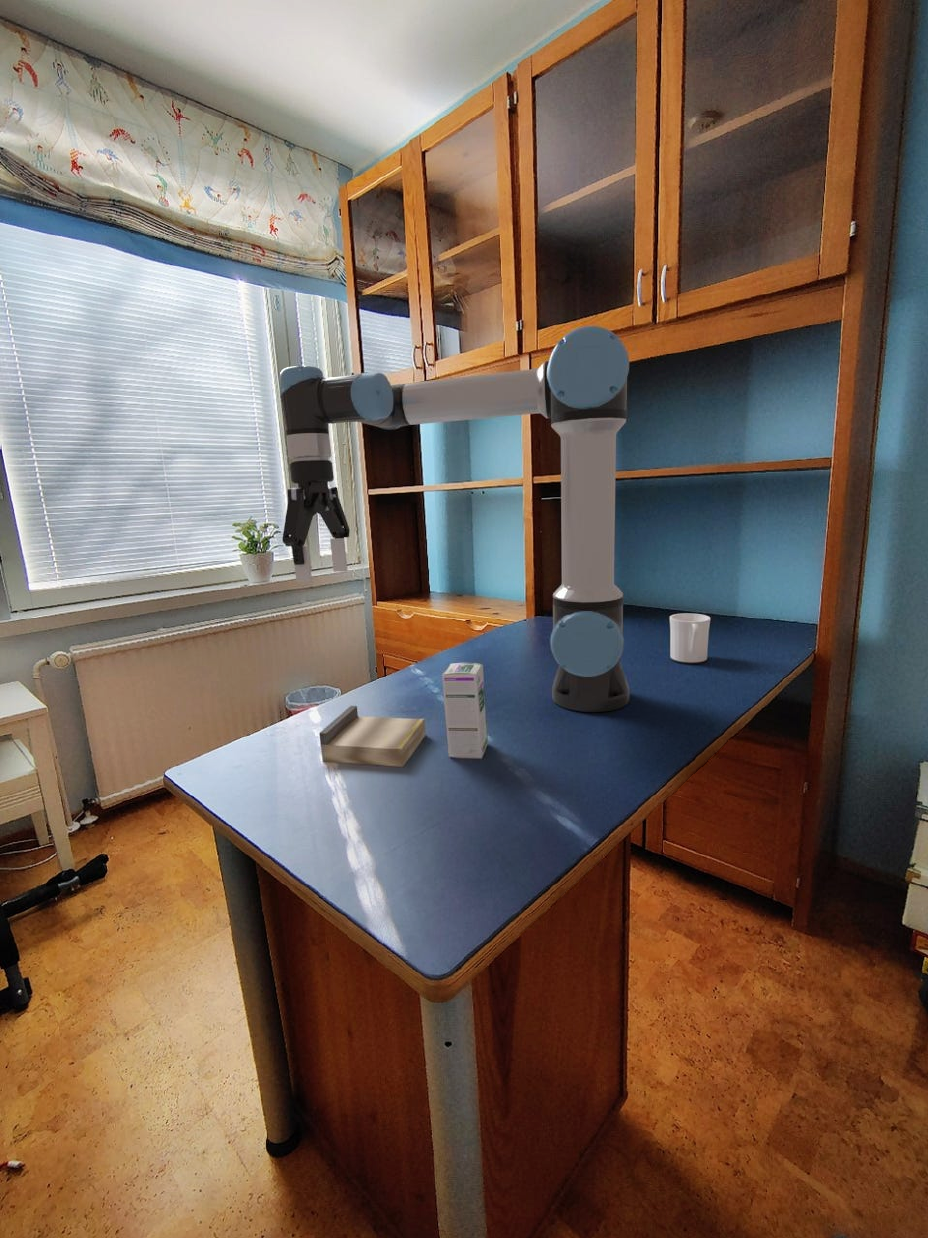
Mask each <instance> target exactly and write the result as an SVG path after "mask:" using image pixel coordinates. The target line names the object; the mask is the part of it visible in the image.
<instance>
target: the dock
mask: <svg viewBox="0 0 928 1238" xmlns="http://www.w3.org/2000/svg"><path fill="white" fill-rule="evenodd" d="M425 721H426V720H425V718H404V717H403V718H401V717H400V718H399V717H384V716H383V717H380V716H379V717H378V716H362V715H361V716H360V715H359V713H358V706H357V705H350V706H349V707H347V708H346V709H345V710H344V711H343V712H342V713H341V714H339V716H337V717H336V718H335V719H334V720H333V721H331V722H330V723H329V724H328V725H327V726H325V727H324V728H323V729H322V730H321V731H319V741H320V750H321V751H320V752H321V759H322V760H321V761H322V762H329V763H340V764H341V763H342V764H355V765H370V766H371V765H372V766H383V767H384V766H387V767H399V768H400V767H401V768H403V767H404V766H405V764H406V763H407V761H408V760H409V759H410V757H411V756H412V755H413V753H414V752H415V750H417V748H418V747H419V745H420V744H421V743H422V741H423V739H424V738H425V737H426V734H427V733H426V722H425Z"/></svg>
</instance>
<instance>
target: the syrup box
mask: <svg viewBox="0 0 928 1238" xmlns="http://www.w3.org/2000/svg"><path fill="white" fill-rule="evenodd" d="M483 665H484V664H483V663H478V662H457V663H455V662H454V663H450V664H449V665H448V667H447V668H446V669H445V671H444V672H443V673H442V675H441V680H442V681H441V682H442V690H443V706H444V717H445V719H444V720H445V729H446V741H447V753H448V757H450V758H454V759H455V758H456V759H483V757H484V754H485V752H486V749H487V746H488V744H489V739H488V738H489V737H488V724H487V723H488V722H487V707H486V706H487V705H486V693H485V679H484V666H483Z"/></svg>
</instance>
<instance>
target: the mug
mask: <svg viewBox="0 0 928 1238" xmlns="http://www.w3.org/2000/svg"><path fill="white" fill-rule="evenodd" d="M710 624H711V617H710V616H708V615H706V614H700V613H687V612H686V613H676V614H672V615H670V616H669V629H670V636H669V637H670V644H669V645H670V648H669V649H670V651H669V652H670V654H669V656H670V660H671V661H672V662H674V663H677V664H682V665H687V666H688V665H691V666H692V665H696V666H697V665H701V664H704V663H706V662H707V660H708V647H709V636H710V634H709V633H710V626H711V625H710Z"/></svg>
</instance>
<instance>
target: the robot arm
mask: <svg viewBox="0 0 928 1238" xmlns="http://www.w3.org/2000/svg"><path fill="white" fill-rule="evenodd" d="M629 358H630V357H629V352H628V351H627V349H626V346H625V345H624V343H623V342H622V340H621V338H620V337H618V335H617V334H615V333H614V332H613V331H611V330H609V329H607V328H605V327H602V326H597V325H586V326H581V327H577V328H576V329H573V330H571V331H570V332H568V333H567V334H565V335H564V336H563V337H562V338H561V339H560V340H559V341H558V343H556V345H555V346H554V348H553V349H552V352H551V354H550V356H549V360H547V361H543V362H542V364H541V365H540V366H539V367H538V368H531V369H523V370H522V369H521V370H513V371H506V372H505V371H504V372H497V373H488V374H487V373H486V374H478V375H471V376H470V375H469V376H462V377H461V376H460V377H451V378H444V379H443V378H442V379H435V380H426V381H416V382H408V383H399V384H391V382H390V381H389V379H388V377H387V376H386V375H385V374H384V373H381V372H362V373H358V374H348V375H341V376H334V377H324V374H323V371H322V370H321V369H320V368H319V367H316V366H310V365H303V366H302V365H295V366H288V367H285V368H283V369H282V370H281V372H279V373H280V375H279V379H280V380H279V385H280V399H281V404H282V413H283V419H284V427H285V434H286V442H287V443H286V447H287V453H288V459H290V460H292V461H291V462H290V463H289V471H290V479H291V480H290V481H291V482H292V484H297V485H298V487H291V488H290V487H289V488H287V490H286V491H287V507H286V513H285V520H284V525H283V526H284V527H283V534H282V539H281V540H282V543H283V544H285V546H286V547H291V550H292V558H293V564H294V565H293V566H294V571H295V572H294V573H295V574H294V575H295V580H296V581H295V582H296V583H297V584H311V583H313V575H312V568H311V560H310V552H309V545H305V544H306V540H307V537H308V534H309V531H310V528H311V525H312V520H313V517H314V516H316V514H319V515H320V516H321V519H322V520H323V523H324V524H325V527H326V529H328V531H329V533H330V535H331V536H332V538H329V541H330V551H331V558H332V570H333V572H348V562H347V551H346V544H345V538H350V527H349V524H348V521H347V518H346V515H345V512H344V509H343V506H342V504H341V503H342V502H341V500H340V498H339V490H338V486H329V485H328V483H329V482H330V483H331V482H333V481H334V478H335V477H334V469H333V468H334V467H333V462H332V461H331V460H330V459H329V458H332V449H331V447H332V446H331V440H330V432H329V431H330V430H329V428H330V427H329V424H331V425H333V424H341V423H360V424H365V425H370V426H373V427H377V428H381V429H383V430H396V429H399V428H402V427H406V426H411V425H422V424H423V425H424V424H425V425H426V424H436V423H446V422H458V421H468V420H470V421H471V420H480V419H490V418H500V417H513V416H514V417H515V416H525V415H533V414H534V415H535V414H541V415H542V416H543V417H544V418H546V419H550V426H551V428H552V429H553V430H554V432H556V434H558V436H559V437H560V472H561V473H560V486H561V487H560V497H561V499H560V503H561V504H560V505H561V508H560V509H561V513H560V514H561V515H560V516H561V519H560V520H561V523H560V524H561V528H560V529H561V530H560V531H561V533H560V534H561V583H560V584H561V585H559V587H558V588H557V589H556V590H555V591H554V592H553V593H552V630H551V635H550V638H549V645H550V646H549V647H550V650H551V653H552V656H553V658H554V660H555V661H556V662H557V664H558V668H557V671H556V674H555V677H554V680H553V684H552V688H551V700H552V701H553V702H554V704H556V705H558V706H560V707H562V708H564V709H567V710H572V711H577V712H583V713H602V712H610V711H616V710H618V709H621V708H624V707H625V706H626V705H628V704H629V702H630V686H629V684H628V680H627V677H626V674H625V673H624V669H623V666H622V661H621V657H622V655H623V652H624V649H625V639H624V635H623V634H624V633H623V628H624V627H623V626H624V625H623V624H624V623H623V617H624V615H623V614H624V612H623V611H624V608H623V607H624V592H623V591H622V590H621V589H620V588H619V587H618V586H617V585H615V530H616V528H615V527H616V526H615V523H616V464H617V463H616V457H617V455H616V451H617V447H616V446H617V433H618V432H619V431H620V430H621V428H622V427H623V426H624V425H625V424H626V422H627V402H628V401H627V400H628V397H627V396H628V391H627V390H628V375H629V373H630V359H629Z"/></svg>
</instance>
